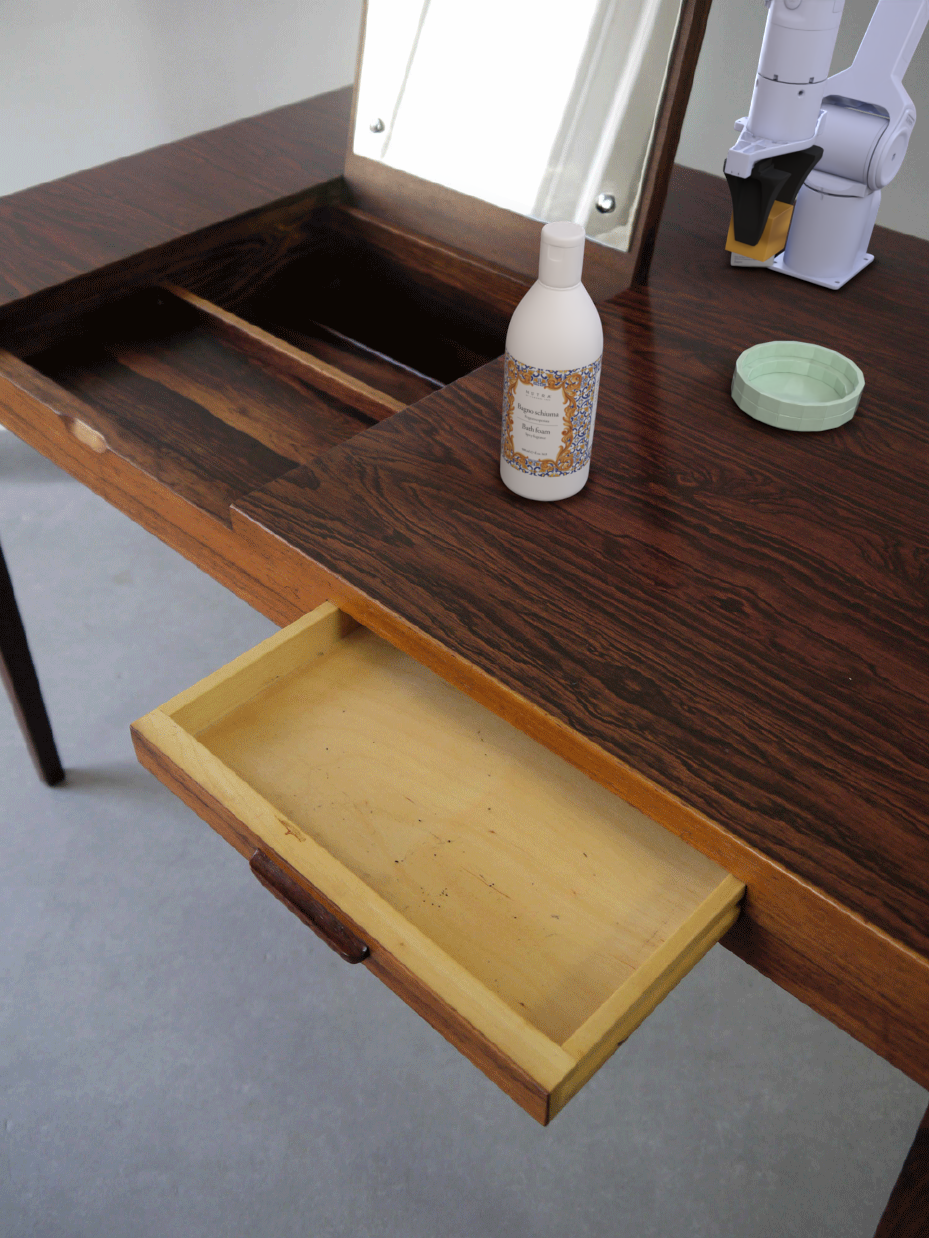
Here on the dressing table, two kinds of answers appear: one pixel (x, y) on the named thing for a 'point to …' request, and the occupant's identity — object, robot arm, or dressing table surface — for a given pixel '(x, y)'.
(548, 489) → the bath foam
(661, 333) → the dressing table surface
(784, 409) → the bowl
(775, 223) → the block
